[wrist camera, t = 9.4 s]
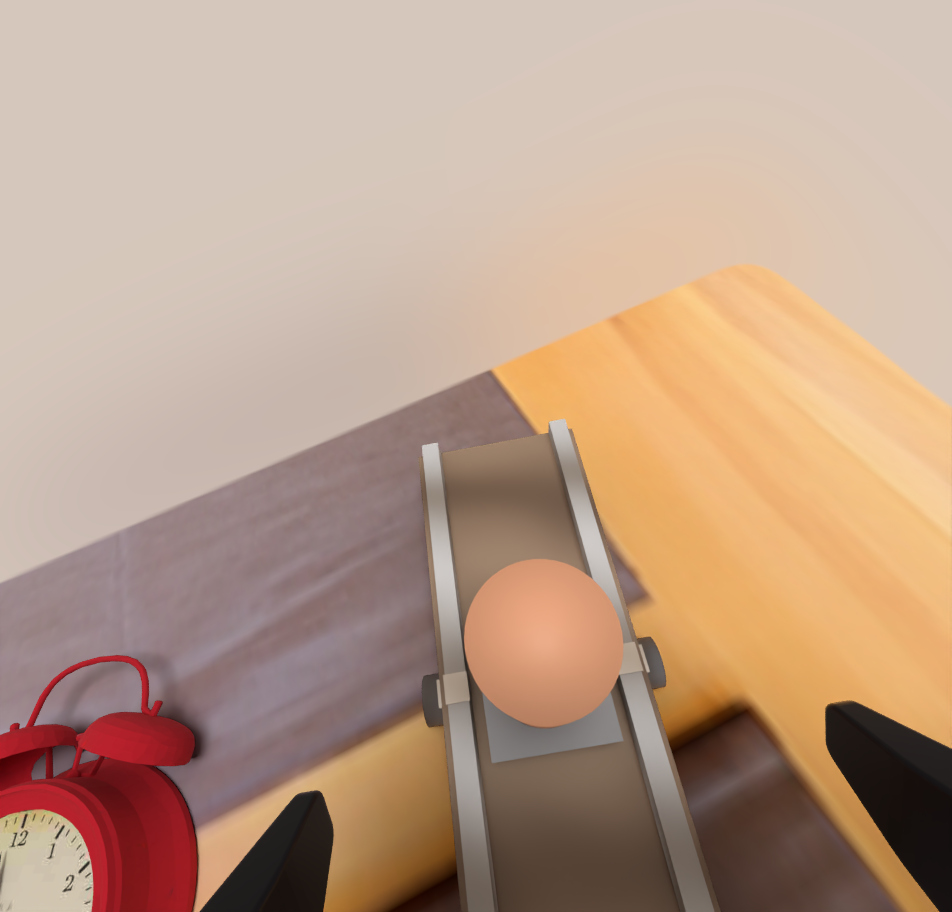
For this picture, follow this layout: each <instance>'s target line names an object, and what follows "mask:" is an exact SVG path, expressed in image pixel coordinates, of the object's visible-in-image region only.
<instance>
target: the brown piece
mask: <svg viewBox="0 0 952 912" xmlns="http://www.w3.org/2000/svg"><path fill="white" fill-rule="evenodd" d="M422 451H423V456H422V457H419V468H420V479H421V489H422V500H423V511H424V521H425V532H426V543H427V553H428V564H429V575H430V585H431V596H432V607H433V617H434V628H435V639H436V649H437V660H438V671H439V673H438V674H432V675H426V676H424V677H423V681H422V702H423V710H424V716H425V720H426V723H427V726H428V727H434V726H440V725H444V735H445V745H446V756H447V767H448V777H449V788H450V799H451V810H452V820H453V831H454V842H455V852H456V863H457V874H458V884H459V895H460V906H461V912H721V910H720V907H719V904H718V901H717V898H716V894H715V891H714V888H713V885H712V881H711V878H710V875H709V872H708V868H707V865H706V862H705V859H704V855H703V852H702V849H701V846H700V842H699V839H698V836H697V833H696V830H695V826H694V823H693V820H692V817H691V813H690V810H689V807H688V804H687V800H686V797H685V794H684V791H683V787H682V784H681V781H680V778H679V774H678V771H677V768H676V765H675V762H674V758H673V755H672V752H671V749H670V745H669V742H668V739H667V736H666V732H665V729H664V726H663V723H662V719H661V716H660V713H659V710H658V706H657V703H656V700H655V697H654V694H653V690H652V689H656V688H662V687H665V686H666V675H665V670H664V666H663V662H662V659H661V656H660V653H659V651H658V648H657V646H656V644H655V642H654V641H653V639H652V638H651V637H644V638H638V639H637V638H636V635H635V632H634V629H633V626H632V622H631V619H630V616H629V613H628V609H627V606H626V603H625V600H624V596H623V593H622V590H621V587H620V583H619V580H618V577H617V574H616V570H615V567H614V564H613V561H612V558H611V554H610V551H609V548H608V545H607V541H606V538H605V535H604V532H603V528H602V525H601V522H600V519H599V515H598V512H597V509H596V506H595V502H594V499H593V496H592V493H591V490H590V486H589V483H588V480H587V477H586V473H585V470H584V467H583V464H582V460H581V457H580V454H579V451H578V447H577V444H576V441H575V438H574V434H573V431H572V429H568V427H567V424H566V421H565V419H561V420H556V421H551V422H549V433H546V434H540V435H535V436H530V437H524V438H519V439H513V440H508V441H503V442H497V443H492V444H487V445H481V446H476V447H471V448H465V449H460V450H455V451H449V452H444V453H441V451H440V448H439V445H438V443H433V444H428V445H423V446H422ZM531 559H548V560H555V561H559V562H562V563H566V564H568V565H570V566H573V567H575V568H577V569H579V570H580V571H582V572H584V573H585V574H586V575H588V576H589V577H590V578H592V579H593V580H594V581H595V582H596V583H597V584H598V585H599V586H600V587H601V588H602V590H603V591H604V592H605V593H606V595H607V596H608V598H609V599H610V601H611V602H612V604H613V606H614V608H615V610H616V613H617V615H618V618H619V621H620V625H621V629H622V635H623V659H622V665H621V669H620V672H619V676H618V678H617V680H616V683H615V685H614V687H613V689H612V690H611V696H612V699H613V703H614V707H615V711H616V714H617V718H618V722H619V726H620V729H621V733H622V737H623V741H621V742H615V743H609V744H603V745H597V746H591V747H586V748H580V749H574V750H568V751H562V752H556V753H550V754H544V755H538V756H532V757H526V758H520V759H515V760H509V761H503V762H497V763H492V761H491V753H490V746H489V739H488V731H487V724H486V716H485V709H484V702H483V694H482V691H481V690H480V688H479V686H478V685H477V683H476V682H475V680H474V678H473V675H472V673H471V671H470V668H469V665H468V662H467V658H466V653H465V644H464V632H465V624H466V618H467V615H468V611H469V608H470V606H471V604H472V602H473V599H474V598H475V596H476V594H477V593H478V591H479V590H480V588H481V587H482V586H483V585H484V584H485V582H486V581H487V580H489V579H490V578H491V577H492V576H493V575H494V574H496V573H497V572H498V571H500V570H501V569H503V568H505V567H507V566H509V565H512V564H514V563H517V562H520V561H525V560H531Z"/></svg>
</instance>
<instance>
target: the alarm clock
mask: <svg viewBox="0 0 952 912" xmlns="http://www.w3.org/2000/svg"><path fill="white" fill-rule="evenodd" d="M110 661H120V662H126V663H129V664H131V665H133V666H134V667H136V669H137V670H138V671H139V673H140V677H141V681H142V706H141V710H142V713H135V712H119V713H112V714H108V715H106V716H103V717H101V718H99V719H97V720H96V721H95V722H93V723H92V724H91V725H90V726H89V727H88V728H87V730H86V731H85V732H84V733H80V734H77V733H76V732H75V731H74V730H73V729H72V728H71V727H67V726H63V725H58V724H51V725H38V726H33V725H34V723H35V721H36V719H37V717H38V715H39V712H40V710H41V708H42V706H43V704H44V702H45V700H46V698H47V696H48V695H49V693H50V692H51V690H52V689H53V688H54V686H55V685H56V684H57V683H58V682H59V681H60V680H61V679H63V678H64V677H65V676H66V675H68V674H70V673H72V672H74V671H76V670H78V669H80V668H82V667H85V666H89V665H92V664H96V663H100V662H110ZM148 698H149V680H148V676H147V671H146V669H145V667H144V666H143V665H142V664H141V663H140V662H139V661H138V660H136V659H134V658H131V657H129V656H120V655H115V656H104V657H98V658H94V659H90V660H86V661H83V662H80V663H78V664H76V665H73V666H71V667H69V668H68V669H66V670H64V671H63V672H61V673H60V674H59V675H58V676H56V677H55V678H54V679H53V680H52V681H51V682H50V684H49V685H48V686H47V687H46V688H45V690H44V691H43V693H42V694H41V696H40V697H39V699H38V702H37V704H36V706H35V708H34V710H33V712H32V715H31V717H30V719H29V721H28V723H27V726H26V727H25V728H21V729H19V725H20V724H19V723H14V724H12V725H11V726H10V732H7V733H4V734H2V735H0V912H191V911H192V907H193V901H194V896H195V886H196V874H197V855H196V840H195V834H194V829H193V825H192V821H191V817H190V814H189V811H188V808H187V806H186V803H185V801H184V799H183V797H182V796H181V794H180V792H179V791H178V789H177V787H176V786H175V785H174V784H173V783H172V781H171V780H170V779H169V778H168V777H167V776H166V775H165V774H163V773H162V772H161V771H159V770H158V769H157V768H155V767H153V766H178V765H185V764H187V763H188V762H189V761H190V759H191V757H192V754H193V751H194V747H195V739H194V735H193V733H192V732H191V730H190V729H189V728H187V727H186V726H184V725H182V724H181V723H179V722H177V721H174V720H172V719H169V718H165V717H161V716H157V714H158V712H159V709H160V707H161V705H162V704H163V702H162V701H155V703H154V706H153V708H152V710H150V709H149V708H148ZM57 745H69V746H75V748H76V756H75V760H74V763H73V767H72V768H71V769H69V770H67V771H65V772H63V773H61V774H59V775H57V776H56V777H54V778H53V755H52V748H53V747H55V746H57ZM83 749H85V750H87V751H89V752H91V753H94V754H98V755H100V757H99V758H98V760H95V761H91V762H87V763H83V764H80V765H79V762H80V758H81V754H82V751H83ZM45 752H46V779H39V780H33V781H32V777H31V772H32V769H33V766H34V764H35V762H36V761H37V760H38V759H39V758H40V757H41V756H42V755H43V754H44V753H45ZM105 757H108V758H110V759H104V758H105ZM151 765H153V766H151Z"/></svg>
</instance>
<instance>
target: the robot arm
mask: <svg viewBox="0 0 952 912" xmlns="http://www.w3.org/2000/svg"><path fill="white" fill-rule="evenodd" d="M825 724H826V745H827V748H828V751H829V753H830V755H831V757H832V759H833V760H834V762H835V763H836V765H837V766H838V768H839V769H840V771H841V772H842V774H843V775H844V777H845V778H846V780H847V781H848V783H849V784H850V786H851V787H852V789H853V790H854V792H855V794H856V795H857V797H858V798H859V800H860V801H861V803H862V804H863V806H864V807H865V809H866V810H867V812H868V813H869V815H870V816H871V818H872V819H873V821H874V822H875V824H876V825H877V827H878V828H879V830H880V831H881V833H882V834H883V836H884V837H885V839H886V840H887V842H888V843H889V845H890V846H891V848H892V849H893V851H894V852H895V854H896V855H897V856H898V858H899V859H900V861H901V862H902V863H903V865H904V866H905V867H906V869H907V870H908V871H909V873H910V874H911V875H912V877H913V878H914V879H915V881H916V882H917V883H918V885H919V886H920V887H921V888H922V890H923V891H924V892H925V894H926V895H927V896H928V897H929V899H930V900H931V901H932V903H933V904H934V905H935V906H936V908H937V909H938V910H939V912H952V749H951V748H949V747H947V746H945V745H943V744H941V743H939V742H937V741H935V740H933V739H931V738H929V737H927V736H925V735H923V734H921V733H919V732H917V731H915V730H912V729H910V728H908V727H906V726H904V725H902V724H900V723H898V722H896V721H894V720H892V719H890V718H888V717H886V716H884V715H882V714H880V713H878V712H876V711H874V710H872V709H870V708H868V707H866V706H863V705H861V704H859V703H857V702H854V701H842V702H836V703H830V704H828V705H827V707H826V710H825ZM333 836H334V832H333V824H332V821H331V818H330V815H329V812H328V809H327V806H326V803H325V800H324V797H323V795H322V793H321V792H320V791H317V790H316V791H310V792H304V793H299V794H297V795H296V796H295V797H294V798H293V799H292V800H291V801H290V803H289V804H288V805H287V806H286V807H285V809H284V810H283V811H282V812H281V813H280V815H279V816H278V817H277V818H276V820H275V821H274V822H273V823H272V824H271V826H270V827H269V828H268V829H267V830H266V832H265V833H264V834H263V835H262V836H261V838H260V839H259V840H258V841H257V843H256V844H255V845H254V846H253V847H252V849H251V850H250V851H249V852H248V853H247V855H246V856H245V857H244V858H243V860H242V861H241V862H240V863H239V864H238V866H237V867H236V868H235V869H234V870H233V872H232V873H231V874H230V875H229V877H228V878H227V879H226V880H225V881H224V883H223V884H222V885H221V886H220V887H219V889H218V890H217V891H216V892H215V894H214V895H213V896H212V897H211V898H210V900H209V901H208V902H207V903H206V904H205V906H204V907H203V908H202V909H201V911H200V912H323V909H324V902H325V895H326V888H327V881H328V874H329V867H330V860H331V853H332V846H333Z"/></svg>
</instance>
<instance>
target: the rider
mask: <svg viewBox="0 0 952 912" xmlns="http://www.w3.org/2000/svg"><path fill="white" fill-rule="evenodd" d="M464 644H465V653H466V658H467V662H468V665H469V668H470V671H471V673H472V675H473V678H474V680H475V682H476V683H477V685H478V686H479V688H480V690H481V691H482V694H483V702H484V709H485V716H486V724H487V731H488V739H489V746H490V753H491V761H492V763H497V762H503V761H509V760H515V759H520V758H526V757H532V756H538V755H544V754H550V753H556V752H562V751H568V750H574V749H580V748H586V747H591V746H597V745H603V744H609V743H615V742H621V741H623V737H622V733H621V729H620V726H619V722H618V718H617V714H616V711H615V707H614V703H613V699H612V696H611V690H612V689H613V687H614V685H615V683H616V680H617V678H618V676H619V672H620V669H621V665H622V659H623V635H622V629H621V625H620V621H619V618H618V615H617V613H616V610H615V608H614V606H613V604H612V602H611V601H610V599H609V598H608V596H607V595H606V593H605V592H604V591H603V590H602V588H601V587H600V586H599V585H598V584H597V583H596V582H595V581H594V580H593V579H592V578H590V577H589V576H588V575H586V574H585V573H584V572H582V571H580V570H579V569H577V568H575V567H573V566H570V565H568V564H566V563H562V562H559V561H555V560H548V559H531V560H525V561H520V562H517V563H514V564H512V565H509V566H507V567H505V568H503V569H501V570H500V571H498V572H497V573H496V574H494V575H493V576H492V577H491V578H490V579H489V580H487V581H486V582H485V584H484V585H483V586H482V587H481V588H480V590H479V591H478V593H477V594H476V596H475V598H474V599H473V602H472V604H471V606H470V608H469V611H468V615H467V618H466V624H465V632H464Z"/></svg>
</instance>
